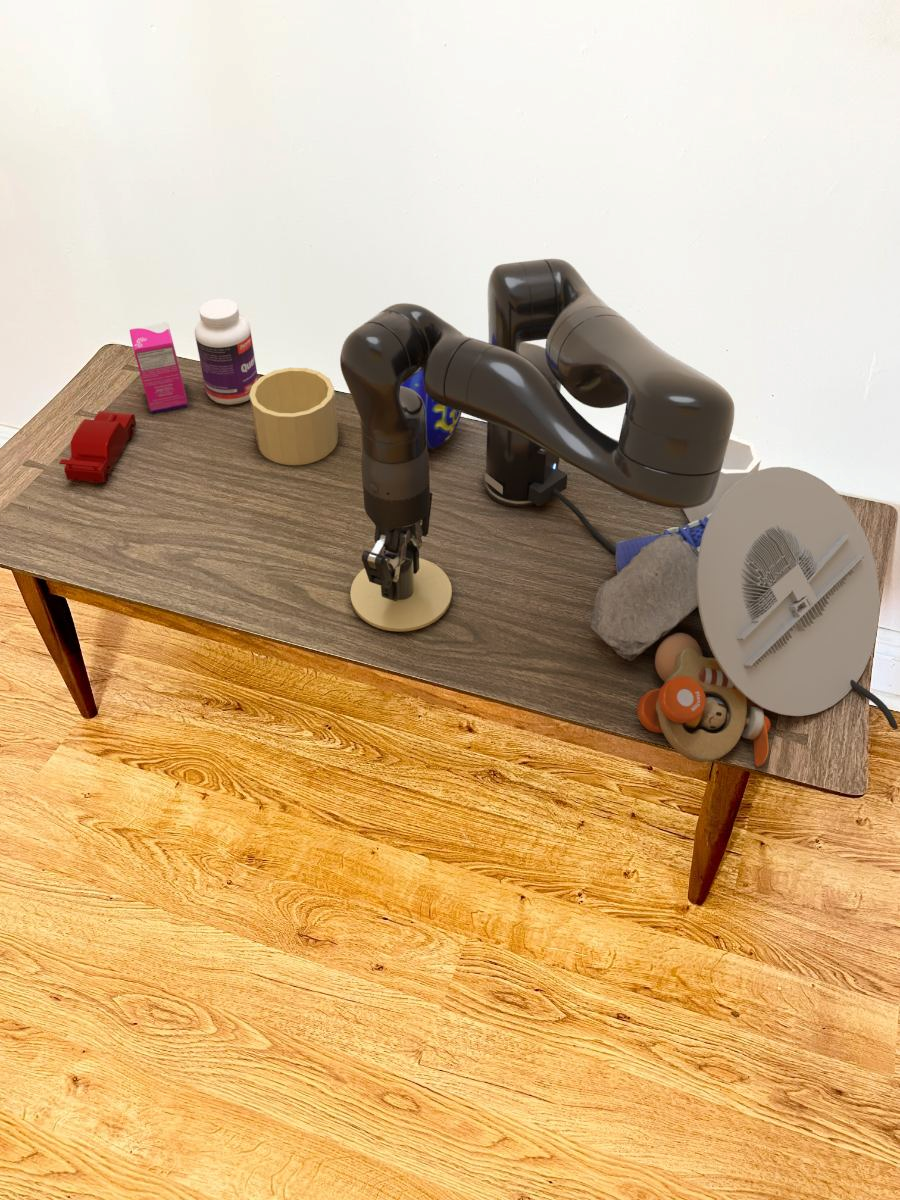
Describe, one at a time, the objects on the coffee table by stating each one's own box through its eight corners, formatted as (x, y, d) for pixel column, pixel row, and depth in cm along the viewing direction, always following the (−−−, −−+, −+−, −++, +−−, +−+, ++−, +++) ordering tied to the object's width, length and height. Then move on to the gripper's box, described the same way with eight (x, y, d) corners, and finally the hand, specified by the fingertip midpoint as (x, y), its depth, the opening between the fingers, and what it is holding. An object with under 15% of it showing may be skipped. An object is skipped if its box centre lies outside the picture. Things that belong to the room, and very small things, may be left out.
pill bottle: (255, 408, 161) (242, 324, 151) (202, 407, 161) (185, 323, 151) (263, 377, 167) (251, 294, 156) (211, 376, 167) (196, 293, 156)
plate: (773, 766, 117) (781, 767, 116) (655, 546, 111) (662, 544, 110) (909, 628, 129) (918, 628, 128) (809, 424, 124) (817, 422, 123)
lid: (468, 580, 136) (469, 538, 131) (424, 648, 128) (423, 606, 123) (380, 551, 140) (377, 509, 134) (332, 615, 132) (327, 573, 126)
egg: (648, 691, 123) (652, 647, 128) (694, 702, 123) (697, 657, 127) (659, 661, 119) (663, 616, 124) (708, 672, 119) (710, 627, 123)
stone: (577, 618, 129) (637, 675, 126) (572, 610, 125) (635, 669, 122) (666, 528, 129) (728, 583, 126) (664, 517, 125) (729, 573, 122)
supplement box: (145, 393, 164) (128, 327, 156) (184, 386, 165) (169, 320, 157) (149, 414, 160) (132, 348, 152) (189, 407, 161) (175, 341, 153)
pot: (352, 428, 158) (348, 379, 152) (312, 474, 150) (306, 424, 144) (284, 408, 161) (277, 360, 155) (242, 452, 154) (233, 403, 148)
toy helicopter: (649, 708, 111) (755, 790, 111) (747, 564, 118) (846, 641, 118) (622, 723, 119) (721, 800, 118) (715, 587, 126) (809, 659, 126)
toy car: (105, 490, 148) (96, 461, 144) (66, 486, 148) (57, 458, 145) (139, 429, 158) (132, 401, 154) (102, 425, 158) (95, 398, 154)
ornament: (435, 470, 151) (434, 381, 140) (380, 450, 154) (375, 361, 143) (473, 429, 158) (475, 340, 147) (419, 410, 161) (417, 322, 150)
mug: (742, 537, 141) (758, 479, 134) (677, 525, 143) (689, 467, 136) (750, 480, 149) (765, 423, 142) (688, 469, 151) (700, 412, 144)
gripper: (396, 524, 114) (401, 632, 126) (453, 448, 123) (453, 556, 135) (334, 505, 116) (345, 612, 129) (395, 431, 125) (400, 539, 138)
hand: (400, 583), depth 132 cm, fingers open, 4 cm apart
